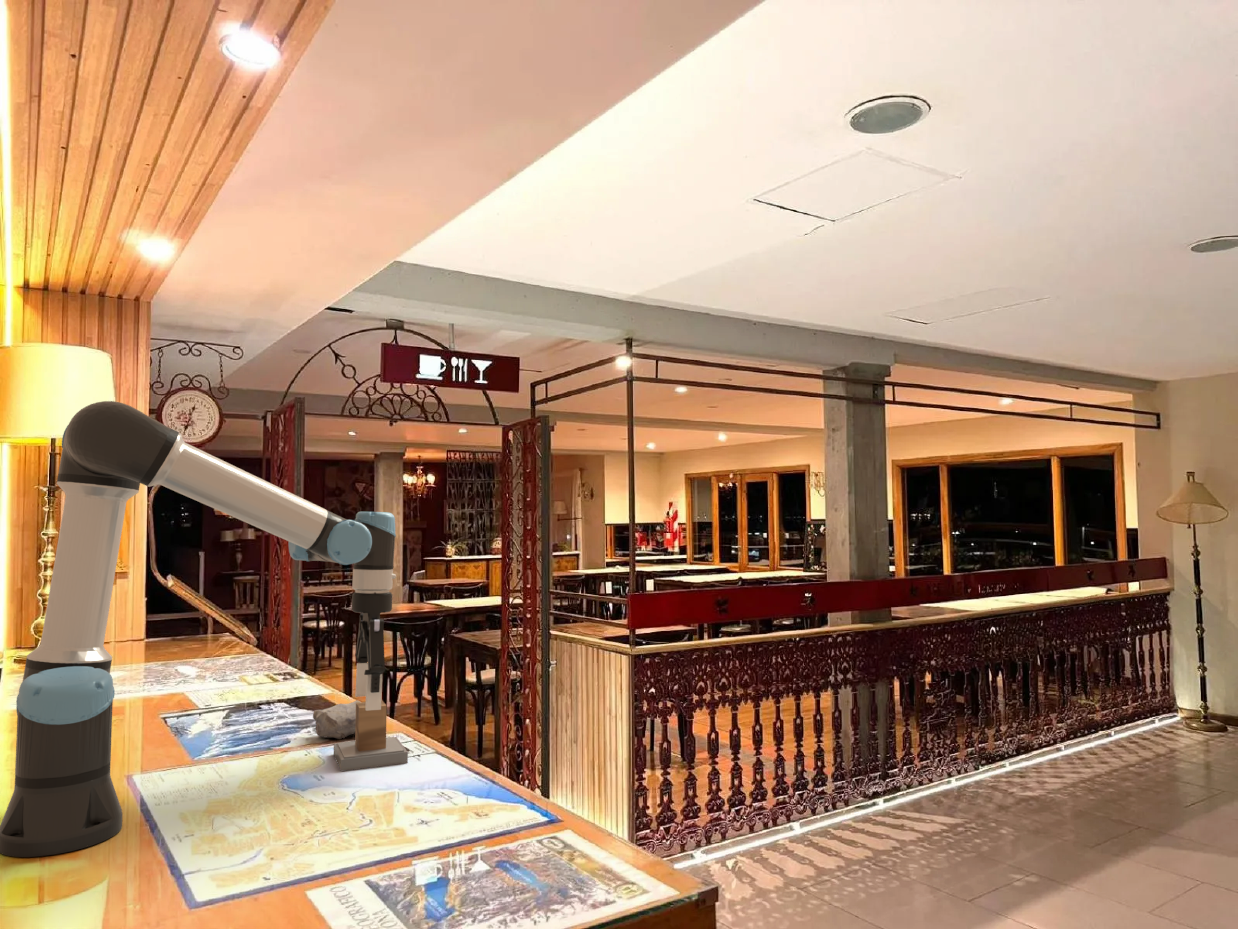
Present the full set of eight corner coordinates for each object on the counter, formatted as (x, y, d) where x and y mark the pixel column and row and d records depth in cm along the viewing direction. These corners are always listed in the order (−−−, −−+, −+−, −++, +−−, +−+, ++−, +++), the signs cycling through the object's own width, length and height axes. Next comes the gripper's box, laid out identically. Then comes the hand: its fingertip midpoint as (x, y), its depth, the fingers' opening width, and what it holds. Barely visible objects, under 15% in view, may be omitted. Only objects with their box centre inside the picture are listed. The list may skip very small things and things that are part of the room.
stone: (309, 736, 178) (310, 703, 178) (366, 728, 184) (366, 696, 185) (319, 745, 171) (320, 711, 171) (377, 737, 178) (378, 703, 178)
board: (407, 763, 158) (407, 750, 158) (340, 771, 153) (341, 758, 153) (396, 747, 169) (396, 735, 169) (333, 754, 164) (333, 742, 164)
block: (385, 748, 160) (386, 705, 160) (358, 751, 158) (359, 708, 158) (381, 742, 164) (382, 700, 165) (355, 744, 162) (355, 702, 163)
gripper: (404, 596, 153) (399, 714, 152) (381, 586, 176) (377, 690, 174) (361, 596, 150) (356, 717, 148) (344, 587, 173) (339, 692, 171)
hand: (367, 703), depth 161 cm, fingers open, 13 cm apart
